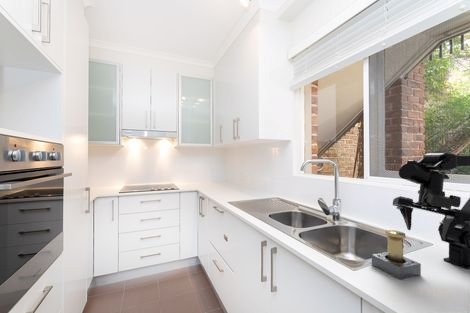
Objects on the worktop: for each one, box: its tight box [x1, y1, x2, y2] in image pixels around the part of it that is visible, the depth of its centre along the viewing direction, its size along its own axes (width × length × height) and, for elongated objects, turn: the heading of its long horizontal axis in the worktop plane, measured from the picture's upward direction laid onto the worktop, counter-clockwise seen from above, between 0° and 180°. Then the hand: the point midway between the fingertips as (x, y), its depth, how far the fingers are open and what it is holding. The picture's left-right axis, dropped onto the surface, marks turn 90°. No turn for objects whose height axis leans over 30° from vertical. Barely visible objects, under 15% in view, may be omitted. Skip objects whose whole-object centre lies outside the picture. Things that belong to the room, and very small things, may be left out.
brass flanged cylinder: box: [384, 229, 406, 263], centre depth 68 cm, size 5×5×12 cm
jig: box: [371, 251, 422, 281], centre depth 68 cm, size 9×9×4 cm
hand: (426, 234), depth 68 cm, fingers open, 9 cm apart
